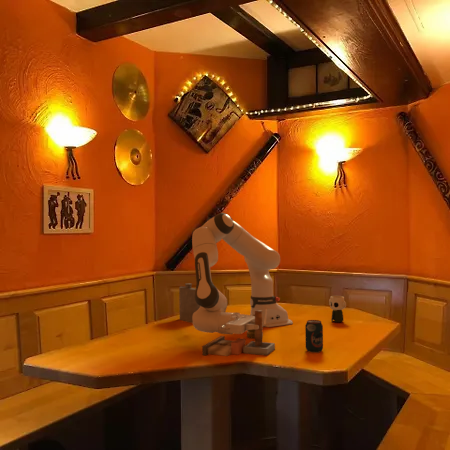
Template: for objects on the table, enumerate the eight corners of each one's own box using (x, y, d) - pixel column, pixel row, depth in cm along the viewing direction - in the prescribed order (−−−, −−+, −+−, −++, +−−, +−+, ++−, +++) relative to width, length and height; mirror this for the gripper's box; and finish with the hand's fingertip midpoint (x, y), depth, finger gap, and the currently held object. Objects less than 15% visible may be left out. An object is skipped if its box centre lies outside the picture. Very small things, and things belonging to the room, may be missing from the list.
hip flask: (201, 322, 262) (201, 284, 262) (195, 324, 259) (195, 285, 259) (183, 318, 274) (182, 281, 274) (177, 319, 271) (176, 282, 271)
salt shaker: (248, 339, 225) (248, 316, 225) (245, 335, 232) (244, 313, 232) (264, 338, 227) (264, 316, 226) (260, 334, 234) (260, 313, 234)
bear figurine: (324, 321, 263) (324, 296, 263) (333, 319, 268) (333, 294, 267) (341, 324, 255) (341, 298, 254) (350, 322, 259) (350, 297, 259)
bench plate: (205, 353, 201) (204, 347, 201) (218, 345, 214) (218, 339, 214) (228, 355, 198) (228, 349, 198) (240, 347, 211) (240, 341, 210)
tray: (243, 353, 202) (243, 346, 202) (251, 347, 211) (251, 341, 211) (267, 355, 198) (267, 349, 198) (274, 349, 207) (274, 343, 207)
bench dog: (231, 354, 200) (231, 342, 200) (238, 349, 208) (238, 338, 208) (238, 354, 199) (238, 343, 199) (245, 349, 207) (245, 338, 207)
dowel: (260, 344, 206) (260, 310, 206) (263, 346, 203) (263, 311, 203) (253, 344, 205) (253, 310, 205) (256, 346, 202) (256, 311, 202)
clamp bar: (202, 355, 199) (202, 346, 199) (221, 344, 217) (221, 335, 217) (206, 355, 199) (206, 346, 199) (224, 344, 216) (224, 336, 216)
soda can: (314, 354, 199) (314, 323, 199) (302, 350, 205) (301, 321, 205) (326, 351, 203) (326, 321, 203) (314, 347, 209) (313, 318, 209)
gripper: (218, 320, 200) (251, 322, 194) (237, 311, 218) (268, 313, 213) (218, 336, 200) (251, 339, 194) (237, 326, 219) (268, 328, 213)
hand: (260, 325), depth 204 cm, fingers closed on dowel, 3 cm apart
